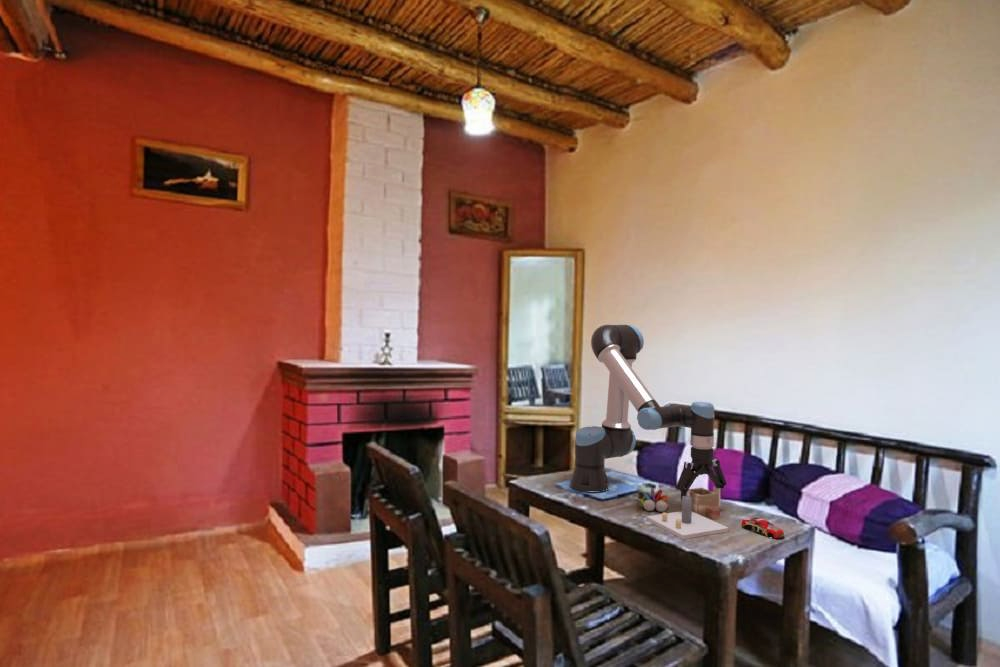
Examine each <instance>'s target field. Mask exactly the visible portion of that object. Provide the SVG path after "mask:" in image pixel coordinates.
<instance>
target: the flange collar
mask: <svg viewBox="0 0 1000 667" xmlns="http://www.w3.org/2000/svg"><path fill="white" fill-rule="evenodd" d="M687 492H690V495H689V497H692V512H694V513H697V514H699V515H701V516H703V517H706V518H708V519H710V520H718V519H719V520H720V519H721V509H720V508H719V507H718V498H719V494H717V493H715V492H713V490H709V489H706V488H704V487H696V488H689V490H688V491H687Z"/></svg>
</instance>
